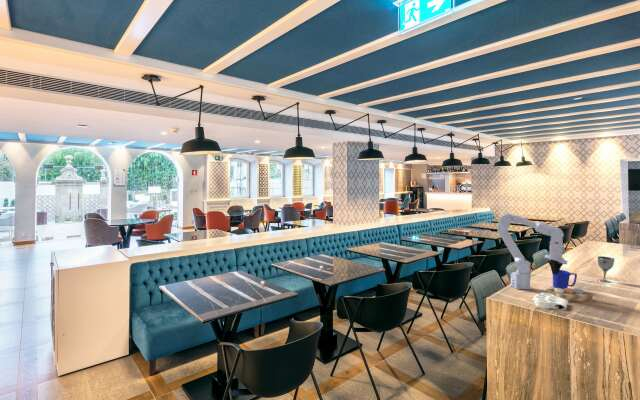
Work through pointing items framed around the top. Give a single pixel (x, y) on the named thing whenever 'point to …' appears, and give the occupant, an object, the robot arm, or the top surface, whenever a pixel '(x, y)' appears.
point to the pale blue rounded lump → (578, 291)
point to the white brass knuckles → (549, 301)
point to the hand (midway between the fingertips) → (555, 274)
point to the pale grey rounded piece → (558, 290)
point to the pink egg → (568, 290)
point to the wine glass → (605, 266)
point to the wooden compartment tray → (571, 296)
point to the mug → (563, 279)
